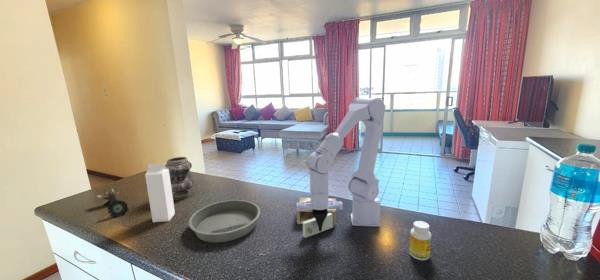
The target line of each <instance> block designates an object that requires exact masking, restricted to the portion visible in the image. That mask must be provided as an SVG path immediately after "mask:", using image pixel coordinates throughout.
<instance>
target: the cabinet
mask: <svg viewBox="0 0 600 280" xmlns="http://www.w3.org/2000/svg"><path fill="white" fill-rule="evenodd" d="M329 200H331V201H337V198H334V197H333V198H329ZM306 201H310V197H299V201H298V203H300V202H306ZM327 211H328V213H332V211H335V226H337V209H327ZM313 218H315V217H314V215H313V211H312V210H300V211H297V210H296V223H297V225H303V222H304V221H307V220H310V219H313Z"/></svg>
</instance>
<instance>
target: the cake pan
mask: <svg viewBox="0 0 600 280" xmlns="http://www.w3.org/2000/svg"><path fill="white" fill-rule="evenodd" d="M260 214H261V209H260V207H259V206H258V205H257V204H256V203H254V202H251V201H248V200H244V199H230V200H223V201H218V202H214V203H211V204H208V205H206V206H203V207H202V208H200V209H198V210H197V211H195V212H194V213H193V214H192V215H191V216H190V218H189V220H188V227H189V228H190V229H191V231H193V232H194V234H195V235H196V237H197V238H198V239H199V240H201V241H203V242H207V243H224V242H230V241H233V240H236V239H239V238H243V236H245V235H247V234H249V233H250V232H251V231H252V230H253V229H254V228H255V227H256V224H257V221H258V218H259V217H260ZM237 219H238V220H237ZM239 225H243V226H241V227H239V228H236V229H233V230H228V231H223V232H214V231H218V230H219V231H220V230H221V229H225V228H226V229H227V228H231V227H234V226H239Z"/></svg>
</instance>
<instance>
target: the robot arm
mask: <svg viewBox="0 0 600 280" xmlns="http://www.w3.org/2000/svg"><path fill="white" fill-rule="evenodd" d="M385 112H386V105H385V104H384V102H383V100H382V99H381V98H379V97H375V98H373V97H355V98H354V99H353V100H352V102H351V103H350V104H349V105H348V111H347V113H346V115H345V116H344V117H343V119H342V120H341V122H340V124H339V125H338V127H337V128H336V129H335V131H334V132H330V133H329V134H326V135H325V137H324V140H323V141H322V142H321V144H319V146H318V147H317V148H316V149H315V151H313V152H311V153H310V154H309V155H308V156H307V159H306V161H305V165H306V167H307V168H308V173H309V189H310V190H309V195H310V196H309V198H310V201H306V202H300V203H299V202H296V212H297V211H300V210H312V211H313V215H314V217H315V219H316V221H317V224H318V227H319V231H321V230H322V225H323V222H324V220H325V218H326V217H327V214H328V211H327V209H336V210H337V209H339V211H340V210H341V211H342V210H344V206H343V205H344V204H343V203H344V202H342V201H341V200H340V201H339V200H336V201H331V200H329V196H330V195H329V173H330V170H331V169H332V168H333V162H334V160H335V157H336V156H337V155H338V153H339V152H340V150H341V149H342V147H343V146H344V138H346V137H347V136H348V134H349V133H350V131H352V129H353V128H354V127H355V126H356V125H357V124H358V123H359V122H362V123H363V125H364V126H365V130H364V134H363V135H364V136H363V140H362V145H361V152H360V157H359V161H358V167H357V170H356V171H354V172H352V173H351V177H350V180H349V181H348V184H347V187H348V189H347V190H348V191H349V192H350V193H351V196H352V213H350V219H351V220H350V221H351V225H352V226H356V227H378V228H380V226H381V225H380V222H381V220H380V219H381V203H380V199H379V197H378V195H379V192H380V191H379V190H380V187H379V182H380V180H379V179H378V177H377V176H376V174H375V173H374V172H375V169H376V168H375V167H376V162H377V157H378V152H379V146H380V142H381V136H382V132H383V131H382V130H383V125H384V117H385Z"/></svg>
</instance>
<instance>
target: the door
mask: <svg viewBox="0 0 600 280" xmlns="http://www.w3.org/2000/svg"><path fill="white" fill-rule="evenodd" d="M335 226H336V225H335V211H332V213H328V214H327V217H326V218H325V220H324V222H323V225H322V230H321V231H319V227H318V224H317V221H316V219H315V218H313V219H310V220H307V221H304V222H303V224H302V236H303V238H304V239H307V238H308V237H312V236H314V235H318V234H319V233H322V232H325V231H327V230H330V229H333V228H335Z"/></svg>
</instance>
